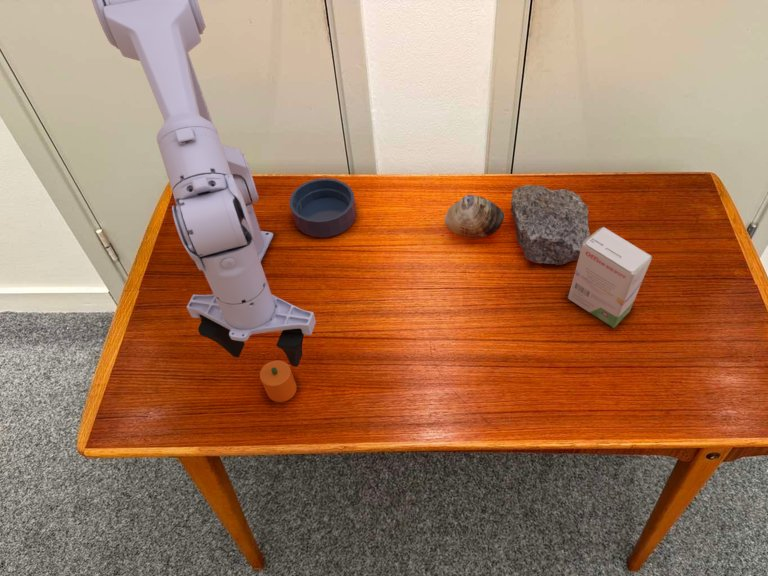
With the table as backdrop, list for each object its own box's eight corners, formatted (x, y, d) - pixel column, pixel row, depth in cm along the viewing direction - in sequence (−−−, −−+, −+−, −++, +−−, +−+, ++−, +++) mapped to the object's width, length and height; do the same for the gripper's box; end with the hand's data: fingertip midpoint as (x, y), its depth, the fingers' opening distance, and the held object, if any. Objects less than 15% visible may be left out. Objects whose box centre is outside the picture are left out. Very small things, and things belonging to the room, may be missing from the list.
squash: (262, 399, 85) (253, 379, 81) (272, 375, 87) (264, 354, 83) (291, 404, 84) (283, 384, 80) (300, 379, 87) (293, 359, 83)
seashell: (443, 246, 102) (443, 208, 95) (445, 221, 105) (445, 183, 99) (502, 248, 102) (506, 211, 95) (502, 223, 105) (506, 186, 98)
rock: (589, 272, 99) (581, 208, 108) (598, 242, 94) (589, 178, 103) (509, 267, 99) (507, 204, 108) (513, 237, 94) (512, 173, 103)
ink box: (566, 298, 95) (579, 243, 86) (586, 280, 98) (601, 224, 88) (613, 329, 92) (633, 275, 82) (633, 309, 94) (654, 254, 85)
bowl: (285, 235, 103) (280, 217, 100) (305, 193, 109) (301, 174, 106) (347, 243, 102) (344, 225, 99) (363, 200, 108) (361, 182, 105)
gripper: (159, 302, 66) (200, 372, 77) (291, 322, 65) (313, 391, 76) (188, 254, 71) (222, 327, 82) (312, 272, 69) (330, 344, 80)
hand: (268, 355), depth 79 cm, fingers open, 7 cm apart
